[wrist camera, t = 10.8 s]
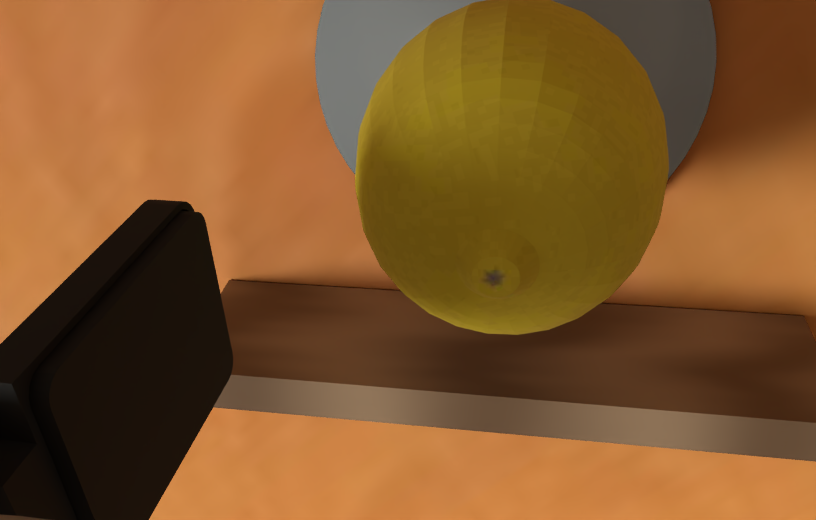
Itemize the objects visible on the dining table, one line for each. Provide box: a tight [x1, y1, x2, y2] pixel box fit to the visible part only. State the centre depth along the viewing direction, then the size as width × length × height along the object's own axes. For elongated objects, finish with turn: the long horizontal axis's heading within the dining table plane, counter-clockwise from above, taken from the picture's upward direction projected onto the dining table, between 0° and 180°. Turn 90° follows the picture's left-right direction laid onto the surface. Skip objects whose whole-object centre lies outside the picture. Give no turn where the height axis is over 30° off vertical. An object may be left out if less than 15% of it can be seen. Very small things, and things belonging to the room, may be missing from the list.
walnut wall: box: [214, 280, 816, 461], centre depth 20 cm, size 16×1×4 cm, turn 92°
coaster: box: [315, 0, 716, 180], centre depth 17 cm, size 9×9×1 cm
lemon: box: [355, 0, 669, 335], centre depth 14 cm, size 6×6×8 cm
